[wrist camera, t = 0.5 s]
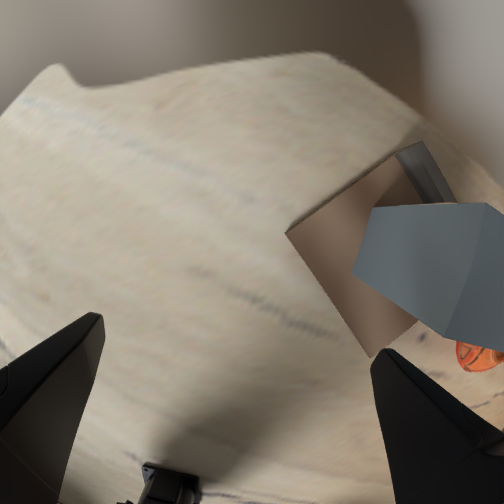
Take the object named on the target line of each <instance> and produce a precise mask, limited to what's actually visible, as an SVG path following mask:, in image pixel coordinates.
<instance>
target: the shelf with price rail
mask: <svg viewBox="0 0 504 504" xmlns="http://www.w3.org/2000/svg"><path fill="white" fill-rule="evenodd" d="M446 202H452V203H457V201H456V199H455V197H454V195H453V193H452V191H451V190H450V188H449V186H448V184H447V182H446V180H445V178H444V176H443V175H442V173H441V171H440V169H439V168H438V166H437V164H436V162H435V161H434V159H433V157H432V156H431V154H430V152H429V151H428V149H427V148H426V146H425V144H424V143H423V141H420V142H417V143H415V144H413V145H411V146H408V147H406V148H404V149H402V150H399V151H397V152H396V153H395V154H393V155H392V156H391V157H389V158H388V159H386V160H385V161H384V162H382V163H381V164H380V165H378V166H377V167H375V168H374V169H373V170H371V171H370V172H369V173H367V174H366V175H364V176H363V177H362V178H360V179H359V180H357V181H356V182H355V183H353V184H352V185H351V186H349V187H348V188H346V189H345V190H344V191H342V192H341V193H340V194H338V195H337V196H335V197H334V198H333V199H331V200H330V201H329V202H327V203H326V204H324V205H323V206H322V207H320V208H319V209H317V210H316V211H315V212H313V213H312V214H311V215H309V216H308V217H306V218H305V219H304V220H302V221H301V222H299V223H298V224H297V225H295V226H294V227H293V228H291V229H290V230H288V231H287V232H286V233H285V235H286V236H287V238H288V239H289V240H290V242H291V243H292V245H293V246H294V247H295V249H296V250H297V252H298V253H299V255H300V256H301V257H302V259H303V260H304V262H305V263H306V265H307V266H308V267H309V269H310V270H311V272H312V273H313V275H314V276H315V277H316V279H317V280H318V282H319V283H320V285H321V286H322V288H323V289H324V291H325V292H326V294H327V295H328V296H329V298H330V299H331V301H332V302H333V304H334V305H335V307H336V308H337V310H338V311H339V313H340V314H341V316H342V317H343V319H344V320H345V322H346V323H347V325H348V326H349V328H350V329H351V331H352V332H353V334H354V335H355V337H356V339H357V340H358V342H359V343H360V345H361V346H362V348H363V349H364V351H365V352H366V354H367V355H368V357H369V358H371V357H372V356H374V355H375V354H377V353H378V352H379V351H380V350H381V349H383V348H385V347H386V346H387V345H389V344H390V343H391V342H392V341H394V340H395V339H396V338H398V337H399V336H400V335H401V334H403V333H404V332H405V331H406V330H408V329H409V328H410V327H411V326H412V325H414V324H415V323H416V322H417V321H418V319H417V318H415V317H414V316H412V315H411V314H410V313H408V312H407V311H405V310H404V309H402V308H401V307H399V306H398V305H397V304H395V303H394V302H392V301H391V300H389V299H388V298H386V297H385V296H383V295H382V294H380V293H379V292H377V291H376V290H374V289H373V288H371V287H370V286H368V285H367V284H365V283H364V282H362V281H361V280H359V279H358V278H356V277H355V276H353V275H352V274H351V272H352V269H353V266H354V264H355V261H356V258H357V255H358V252H359V249H360V246H361V243H362V240H363V237H364V234H365V231H366V228H367V224H368V221H369V218H370V215H371V211H372V208H373V207H389V206H400V205H419V204H436V203H446Z"/></svg>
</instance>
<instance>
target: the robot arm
mask: <svg viewBox="0 0 504 504" xmlns="http://www.w3.org/2000/svg"><path fill="white" fill-rule="evenodd" d="M104 342H105V328H104V320H103V316H102V315H101V314H98V313H94V312H89V313H87V314H85V315H84V316H82V317H80V318H79V319H77V320H76V321H74V322H72V323H71V324H69V325H68V326H66V327H64V328H63V329H61V330H60V331H58V332H57V333H55V334H53V335H52V336H50V337H49V338H47V339H46V340H44V341H43V342H41V343H40V344H38V345H36V346H35V347H33V348H32V349H30V350H29V351H27V352H26V353H24V354H23V355H21V356H20V357H18V358H17V359H15V360H14V361H12V362H11V363H9V364H8V366H5V367H3V368H2V369H0V504H57V503H58V499H59V494H60V490H61V486H62V482H63V478H64V474H65V470H66V466H67V463H68V459H69V456H70V452H71V449H72V446H73V442H74V439H75V436H76V433H77V430H78V427H79V424H80V421H81V418H82V415H83V412H84V409H85V406H86V403H87V400H88V398H89V395H90V392H91V389H92V387H93V384H94V380H95V376H96V372H97V368H98V365H99V361H100V357H101V353H102V350H103V346H104ZM370 373H371V379H372V385H373V391H374V398H375V405H376V410H377V414H378V418H379V422H380V427H381V431H382V435H383V440H384V444H385V449H386V453H387V458H388V463H389V468H390V473H391V478H392V483H393V489H394V495H395V501H396V504H504V433H503V432H502V431H500V430H499V429H497V428H496V427H494V426H493V425H491V424H490V423H488V422H487V421H485V420H484V419H483V418H481V417H480V416H478V415H477V414H476V413H474V412H473V411H472V410H470V409H469V408H468V407H467V406H465V405H464V404H463V403H461V402H460V401H459V400H458V399H456V398H455V397H454V396H453V395H451V394H450V393H449V392H447V391H446V390H445V389H444V388H442V387H441V386H440V385H439V384H437V383H436V382H435V381H433V380H432V379H431V378H430V377H428V376H427V375H426V374H424V373H423V372H422V371H421V370H419V369H418V368H417V367H415V366H414V365H413V364H412V363H410V362H409V361H408V360H406V359H405V358H404V357H403V356H401V355H400V354H399V353H397V352H396V351H395V350H394V349H391V348H384V349H381V350H380V351H379V353H378V355H377V356H376V358H375V360H374V361H373V363H372V364H371V368H370ZM142 473H143V477H144V482H145V487H144V490H143V492H142V494H141V497H140V499H139V502H138V504H200V490H199V478H198V477H197V476H193V475H187V474H182V473H177V472H173V471H168V470H164V469H160V468H156V467H152V466H148V465H143V466H142ZM116 504H133V503H132V502H131V501H129V500H127V501H126V503H120V502H117V503H116Z"/></svg>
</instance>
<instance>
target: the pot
mask: <svg viewBox="0 0 504 504" xmlns="http://www.w3.org/2000/svg"><path fill="white" fill-rule="evenodd" d="M456 354H457V359H458V362H459V364H460V366H461V367H462V368H463V369H464V370H465V371H468V372H471V371H472V372H483V371H486V370H489V369H491V368H493V367H495V366H496V365H498V364H500V363H502V362H504V353H503V352H499V351H495V350H491V349H487V348H483V347H479V346H475V345H471V344H467V343H463V342H459V341H457V342H456Z"/></svg>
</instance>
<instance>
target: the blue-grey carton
mask: <svg viewBox="0 0 504 504" xmlns="http://www.w3.org/2000/svg"><path fill="white" fill-rule="evenodd" d="M351 274H352V275H353V276H355V277H356V278H358V279H359V280H361V281H362V282H364V283H365V284H367V285H368V286H370V287H371V288H373V289H374V290H376V291H377V292H379V293H380V294H382V295H383V296H385V297H386V298H388V299H389V300H391V301H392V302H394V303H395V304H397V305H398V306H399V307H401V308H402V309H404V310H405V311H407V312H408V313H410V314H411V315H412V316H414V317H415V318H417V319H418V320H420V321H421V322H422V323H424V324H425V325H427V326H428V327H430V328H431V329H432V330H434V331H435V332H437V333H438V334H439V335H441V336H442V337H444V338H448V339H452V340H455V341H459V342H463V343H467V344H471V345H475V346H479V347H483V348H487V349H491V350H495V351H499V352H503V353H504V215H503V214H502V213H500V212H499V211H497V210H496V209H494V208H493V207H492V206H490V205H489V204H487V203H452V202H446V203H436V204H419V205H400V206H389V207H373V208H372V211H371V215H370V218H369V221H368V224H367V228H366V231H365V234H364V237H363V240H362V243H361V246H360V249H359V252H358V255H357V258H356V261H355V264H354V266H353V269H352V272H351Z"/></svg>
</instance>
